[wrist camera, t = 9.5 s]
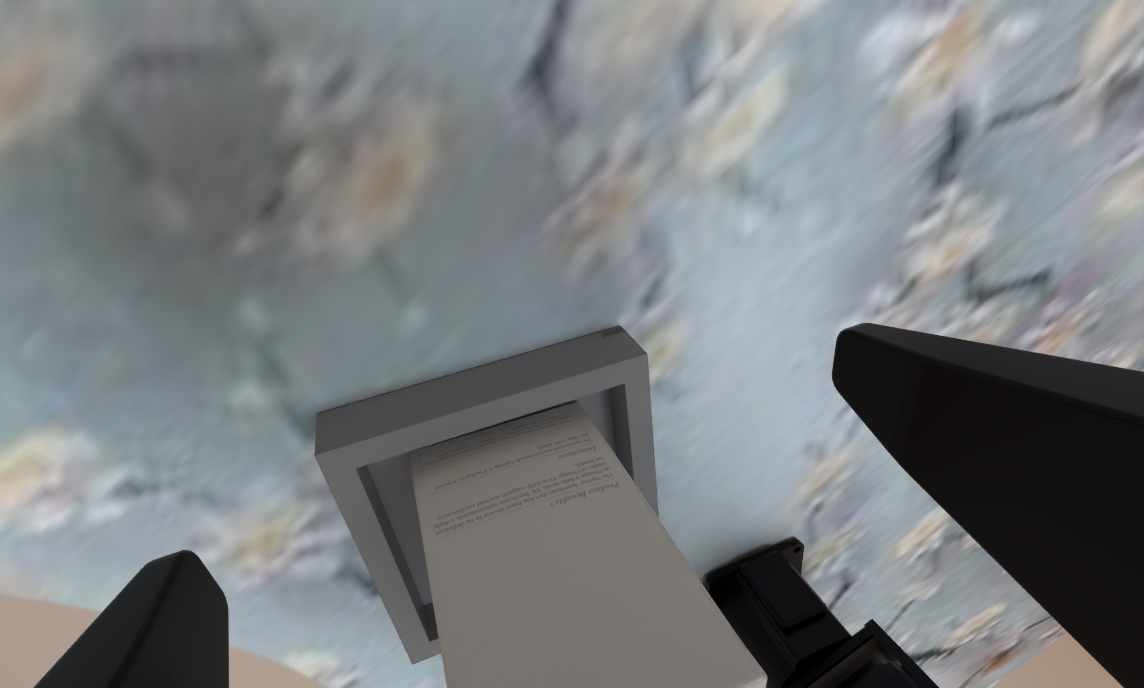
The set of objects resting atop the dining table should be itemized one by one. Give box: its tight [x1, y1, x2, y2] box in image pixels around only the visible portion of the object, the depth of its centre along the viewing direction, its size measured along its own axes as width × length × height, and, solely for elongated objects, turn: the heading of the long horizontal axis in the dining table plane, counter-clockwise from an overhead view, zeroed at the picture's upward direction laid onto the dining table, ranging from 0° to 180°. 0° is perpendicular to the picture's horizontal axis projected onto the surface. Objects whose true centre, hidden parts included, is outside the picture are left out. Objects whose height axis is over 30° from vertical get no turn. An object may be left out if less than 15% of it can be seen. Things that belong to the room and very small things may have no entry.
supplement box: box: [408, 402, 767, 688], centre depth 19 cm, size 7×7×13 cm
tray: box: [315, 326, 659, 665], centre depth 24 cm, size 12×12×2 cm
